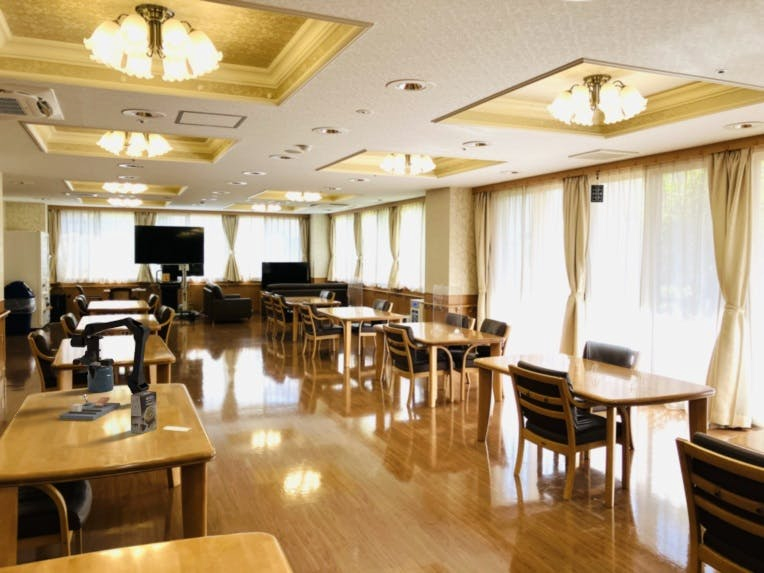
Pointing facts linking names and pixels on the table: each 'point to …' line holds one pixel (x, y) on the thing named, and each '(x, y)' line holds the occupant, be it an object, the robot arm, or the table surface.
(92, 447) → the table surface
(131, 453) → the table surface
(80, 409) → the slider
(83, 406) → the switch panel
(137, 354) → the robot arm
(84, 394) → the toggle
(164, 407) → the table surface
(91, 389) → the canister
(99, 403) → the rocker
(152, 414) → the coffee box
